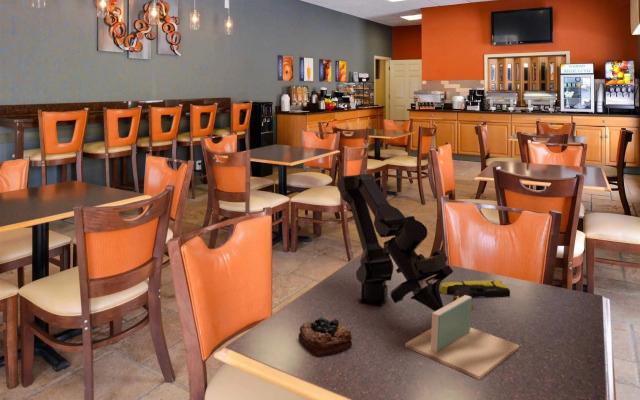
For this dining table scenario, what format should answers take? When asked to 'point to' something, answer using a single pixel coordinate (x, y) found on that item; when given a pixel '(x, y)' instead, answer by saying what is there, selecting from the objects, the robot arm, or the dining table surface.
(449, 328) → the tile
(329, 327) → the pastry
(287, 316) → the dining table surface
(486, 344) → the board
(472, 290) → the stun gun
